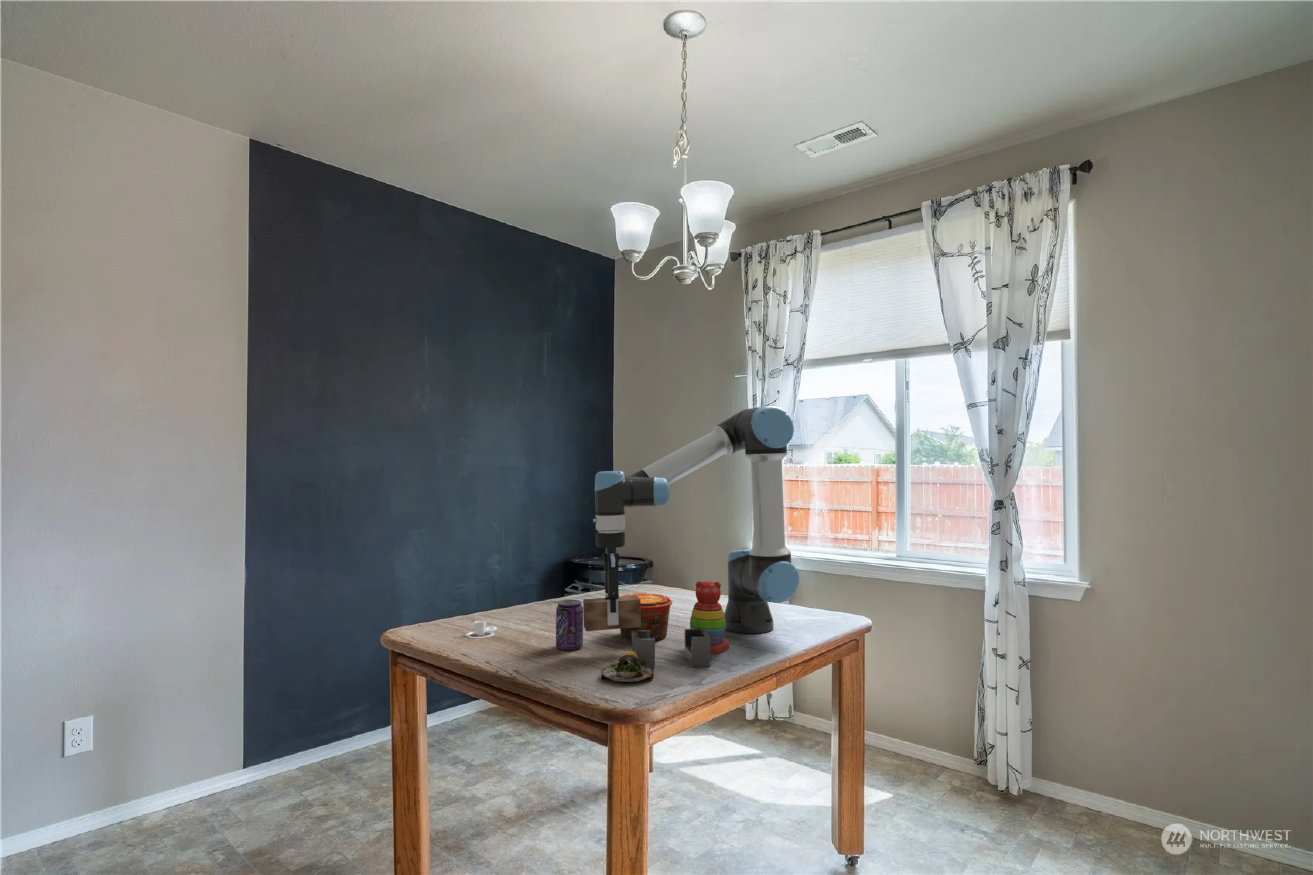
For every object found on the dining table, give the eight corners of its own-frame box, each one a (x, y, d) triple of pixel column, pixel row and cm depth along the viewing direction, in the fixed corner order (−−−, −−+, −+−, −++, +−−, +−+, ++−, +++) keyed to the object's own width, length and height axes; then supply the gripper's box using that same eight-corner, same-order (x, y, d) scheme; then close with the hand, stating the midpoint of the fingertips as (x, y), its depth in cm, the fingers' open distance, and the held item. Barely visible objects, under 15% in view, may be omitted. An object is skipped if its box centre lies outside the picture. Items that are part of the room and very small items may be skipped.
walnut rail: (637, 622, 181) (636, 595, 181) (640, 626, 176) (640, 599, 176) (583, 626, 178) (583, 599, 178) (586, 631, 173) (585, 603, 173)
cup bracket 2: (702, 656, 175) (702, 628, 175) (710, 666, 166) (710, 637, 166) (684, 656, 174) (684, 628, 174) (692, 667, 165) (692, 638, 165)
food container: (623, 646, 184) (624, 605, 184) (609, 631, 199) (609, 594, 199) (680, 641, 189) (680, 601, 189) (661, 627, 204) (661, 591, 204)
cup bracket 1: (636, 669, 163) (636, 639, 163) (631, 658, 172) (631, 630, 172) (654, 669, 164) (654, 639, 164) (649, 658, 173) (649, 630, 173)
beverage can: (552, 645, 184) (553, 600, 184) (578, 643, 187) (578, 598, 187) (559, 652, 177) (560, 605, 178) (586, 649, 180) (586, 603, 180)
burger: (591, 682, 154) (592, 649, 154) (615, 668, 165) (616, 637, 165) (640, 690, 149) (640, 655, 150) (662, 675, 160) (662, 642, 160)
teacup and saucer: (496, 631, 200) (496, 617, 200) (498, 638, 193) (498, 623, 193) (464, 633, 198) (465, 619, 198) (466, 640, 190) (466, 625, 190)
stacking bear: (729, 644, 186) (729, 578, 186) (727, 655, 176) (727, 585, 176) (689, 642, 187) (690, 576, 188) (685, 653, 177) (685, 583, 178)
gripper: (593, 528, 186) (595, 614, 185) (598, 535, 168) (600, 631, 167) (621, 527, 187) (622, 613, 187) (628, 534, 169) (630, 630, 169)
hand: (612, 621), depth 177 cm, fingers closed on walnut rail, 5 cm apart
